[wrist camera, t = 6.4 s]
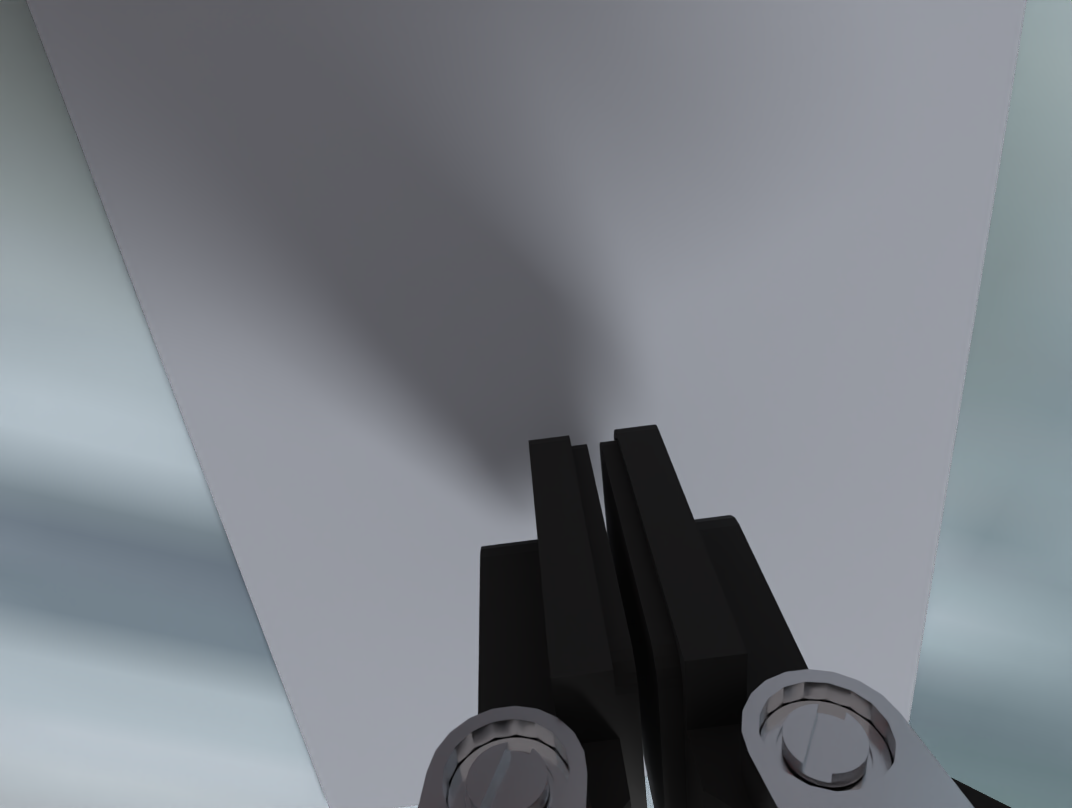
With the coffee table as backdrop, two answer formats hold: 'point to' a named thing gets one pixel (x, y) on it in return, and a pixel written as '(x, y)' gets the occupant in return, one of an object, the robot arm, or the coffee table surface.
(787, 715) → the robot arm
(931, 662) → the coffee table surface
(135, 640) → the coffee table surface
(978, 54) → the lane
